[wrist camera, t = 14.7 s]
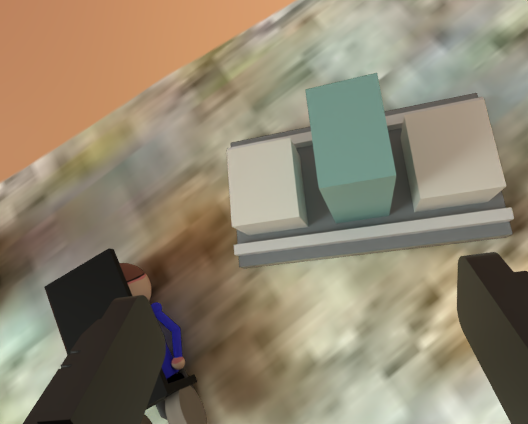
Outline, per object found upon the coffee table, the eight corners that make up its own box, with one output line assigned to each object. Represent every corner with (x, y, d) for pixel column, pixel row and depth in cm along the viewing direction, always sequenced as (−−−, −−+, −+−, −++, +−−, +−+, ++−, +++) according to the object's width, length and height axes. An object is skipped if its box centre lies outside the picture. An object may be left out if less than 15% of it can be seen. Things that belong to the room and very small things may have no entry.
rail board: (245, 268, 33) (235, 265, 30) (236, 149, 36) (226, 138, 33) (505, 237, 28) (517, 231, 26) (472, 102, 31) (480, 85, 28)
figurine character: (233, 404, 32) (154, 247, 35) (198, 448, 25) (102, 244, 28) (167, 441, 33) (96, 284, 36) (114, 494, 25) (30, 291, 29)
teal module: (335, 223, 30) (318, 188, 21) (325, 150, 32) (304, 87, 22) (389, 215, 29) (396, 175, 20) (375, 140, 31) (376, 70, 21)
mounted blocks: (248, 235, 32) (231, 226, 28) (243, 167, 33) (226, 150, 29) (488, 201, 27) (506, 186, 24) (469, 125, 29) (484, 99, 25)
